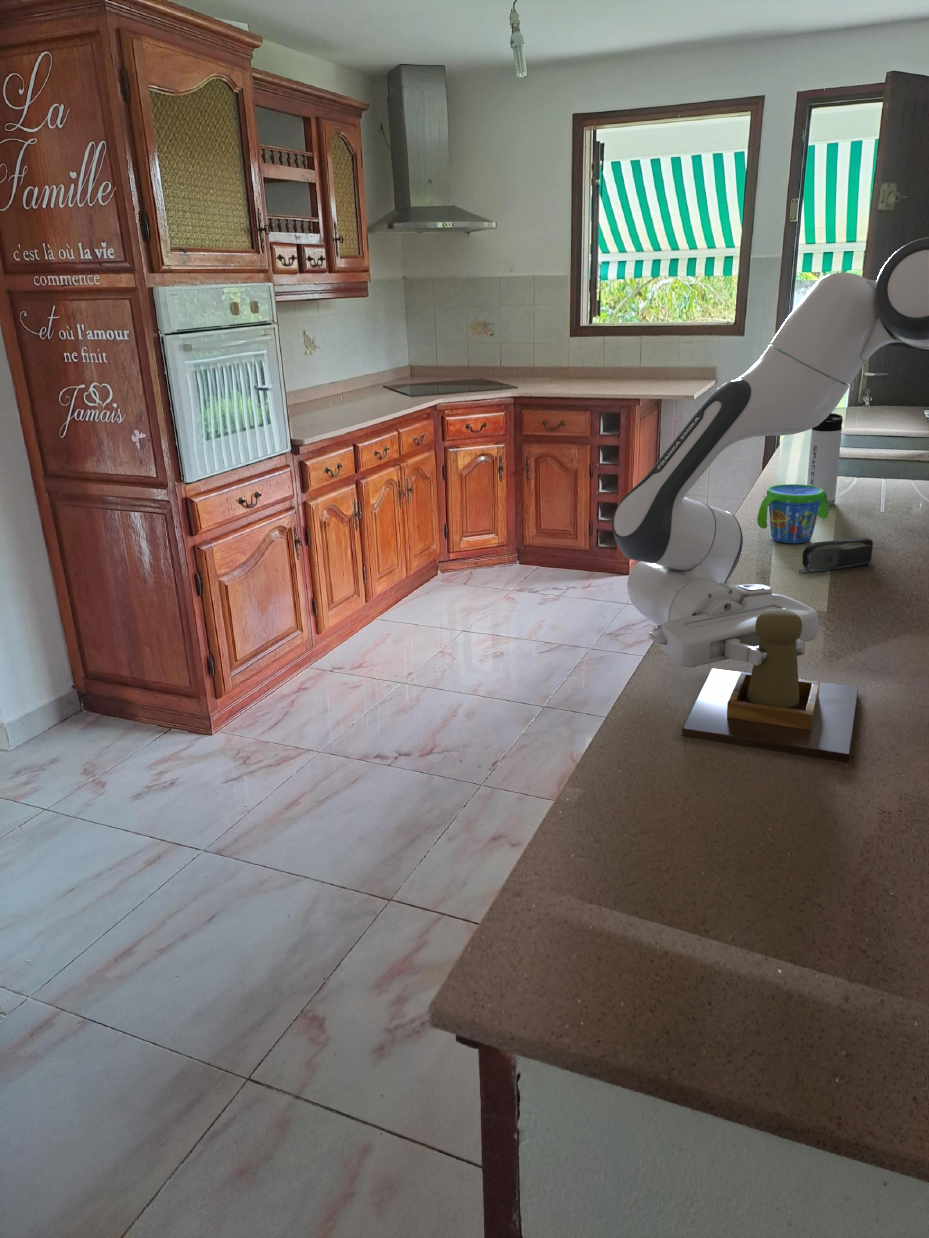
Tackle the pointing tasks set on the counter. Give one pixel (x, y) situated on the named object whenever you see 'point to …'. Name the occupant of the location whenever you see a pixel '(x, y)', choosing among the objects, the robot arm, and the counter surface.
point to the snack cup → (793, 511)
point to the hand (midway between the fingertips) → (782, 654)
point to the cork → (777, 660)
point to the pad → (775, 717)
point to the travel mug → (825, 455)
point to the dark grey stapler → (837, 554)
